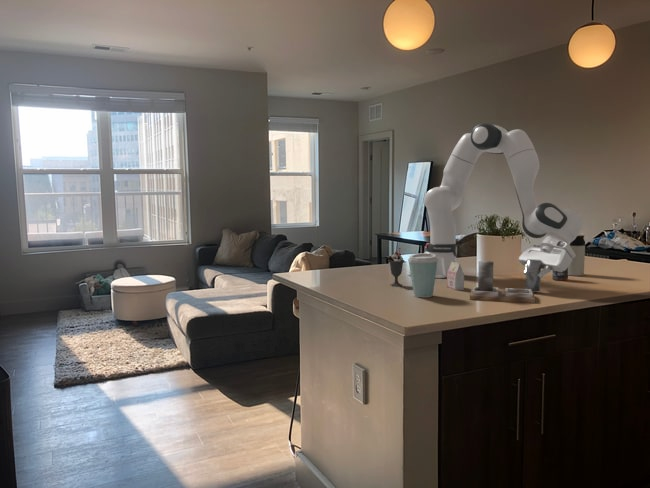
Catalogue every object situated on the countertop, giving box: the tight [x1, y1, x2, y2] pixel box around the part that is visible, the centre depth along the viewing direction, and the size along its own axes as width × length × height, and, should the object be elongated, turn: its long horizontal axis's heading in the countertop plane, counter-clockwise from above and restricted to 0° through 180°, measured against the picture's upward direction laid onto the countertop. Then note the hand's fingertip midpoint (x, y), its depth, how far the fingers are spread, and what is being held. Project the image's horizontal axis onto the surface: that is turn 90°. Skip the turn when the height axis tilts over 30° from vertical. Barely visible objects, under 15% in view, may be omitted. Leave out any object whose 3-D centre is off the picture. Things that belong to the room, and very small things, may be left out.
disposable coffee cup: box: [407, 252, 438, 298], centre depth 188 cm, size 11×11×15 cm
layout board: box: [469, 260, 536, 304], centre depth 183 cm, size 21×12×12 cm, turn 71°
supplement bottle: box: [552, 268, 569, 282], centre depth 217 cm, size 6×6×11 cm
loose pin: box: [525, 259, 542, 292], centre depth 192 cm, size 5×5×11 cm
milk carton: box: [446, 262, 465, 291], centre depth 202 cm, size 4×7×10 cm, turn 14°
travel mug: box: [568, 233, 586, 277], centre depth 229 cm, size 8×8×18 cm
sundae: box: [387, 247, 405, 287], centre depth 209 cm, size 7×7×15 cm
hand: (532, 275), depth 191 cm, fingers closed on loose pin, 5 cm apart
